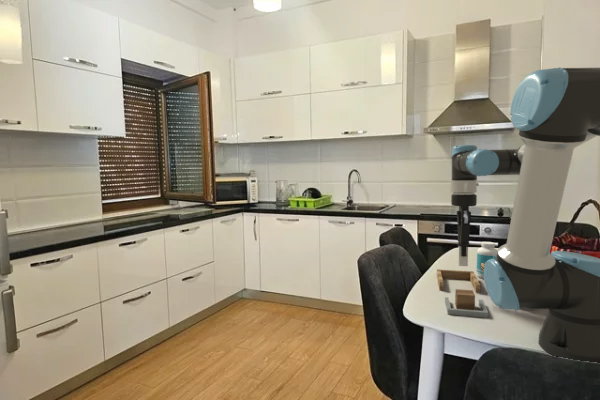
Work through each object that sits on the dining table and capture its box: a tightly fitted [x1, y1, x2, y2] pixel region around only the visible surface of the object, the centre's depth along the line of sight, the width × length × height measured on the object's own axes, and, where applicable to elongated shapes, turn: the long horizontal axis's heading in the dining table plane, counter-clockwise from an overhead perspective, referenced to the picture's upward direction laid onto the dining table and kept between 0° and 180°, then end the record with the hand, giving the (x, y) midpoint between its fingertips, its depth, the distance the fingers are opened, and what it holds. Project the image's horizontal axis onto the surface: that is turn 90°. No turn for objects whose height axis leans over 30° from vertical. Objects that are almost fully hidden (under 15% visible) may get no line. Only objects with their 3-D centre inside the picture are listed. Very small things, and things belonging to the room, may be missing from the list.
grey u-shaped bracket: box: [444, 296, 489, 319], centre depth 119 cm, size 10×11×2 cm
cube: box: [454, 288, 476, 310], centre depth 120 cm, size 5×5×5 cm
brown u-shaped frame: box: [436, 269, 481, 294], centre depth 142 cm, size 16×13×3 cm
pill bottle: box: [475, 241, 498, 280], centre depth 150 cm, size 8×7×14 cm
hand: (462, 265), depth 127 cm, fingers closed
